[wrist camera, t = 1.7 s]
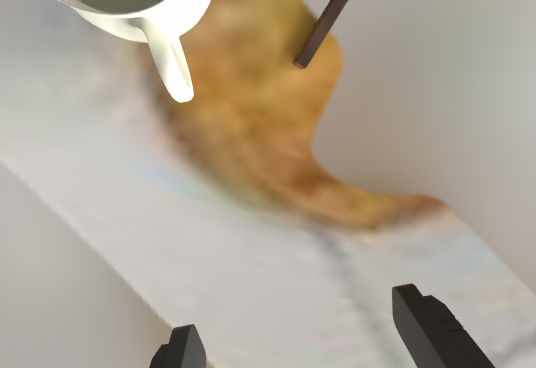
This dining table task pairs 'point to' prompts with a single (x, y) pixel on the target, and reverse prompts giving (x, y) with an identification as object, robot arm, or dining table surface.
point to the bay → (319, 33)
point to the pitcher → (150, 31)
